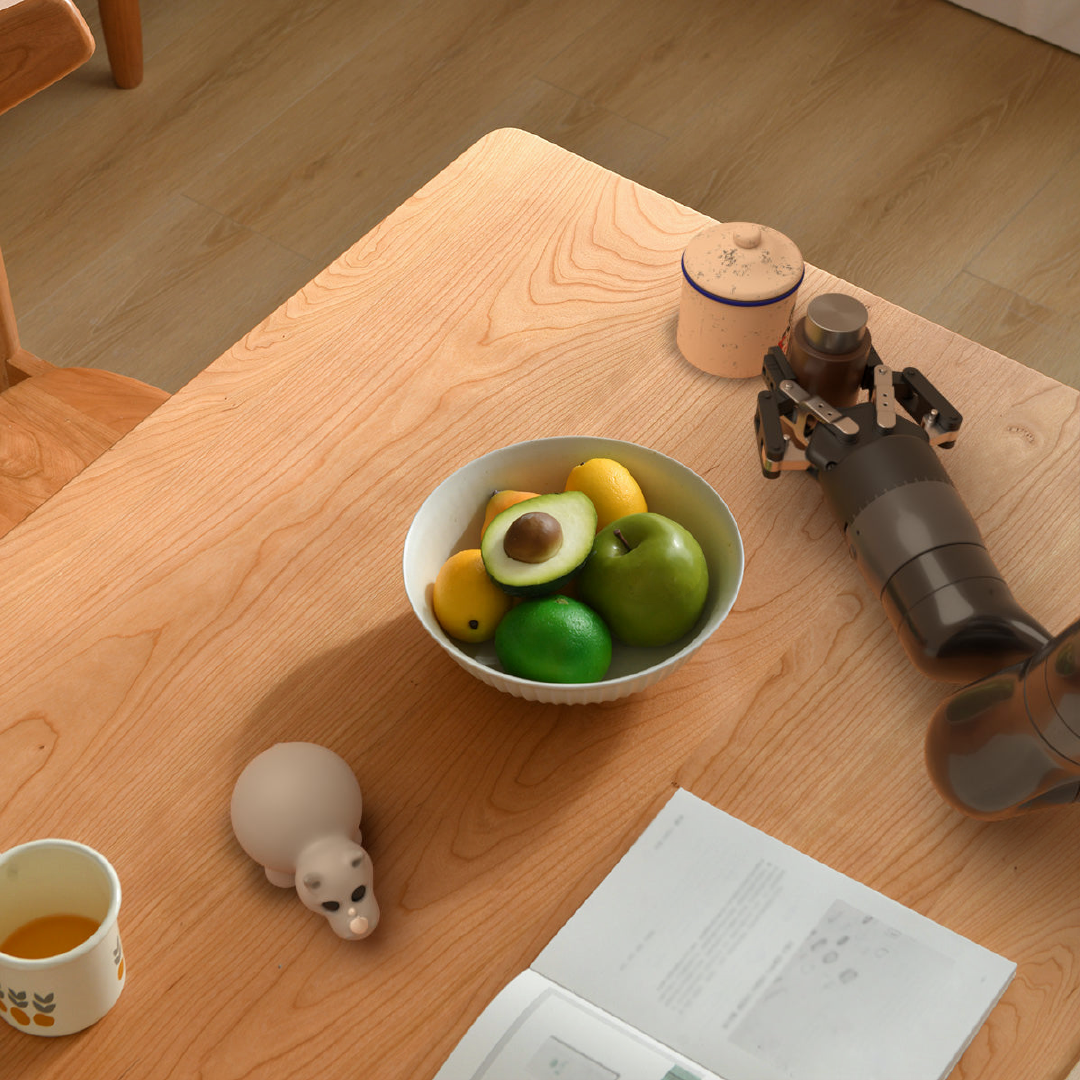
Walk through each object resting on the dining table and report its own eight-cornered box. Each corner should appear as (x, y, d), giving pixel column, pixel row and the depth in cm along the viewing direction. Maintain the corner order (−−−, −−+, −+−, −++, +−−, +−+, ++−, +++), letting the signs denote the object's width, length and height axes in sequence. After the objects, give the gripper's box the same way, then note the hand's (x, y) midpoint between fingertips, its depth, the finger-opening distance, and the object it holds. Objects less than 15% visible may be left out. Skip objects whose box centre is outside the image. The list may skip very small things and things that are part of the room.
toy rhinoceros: (306, 1000, 73) (283, 935, 67) (227, 825, 80) (200, 750, 73) (426, 939, 76) (415, 869, 69) (339, 773, 82) (322, 696, 76)
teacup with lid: (800, 386, 104) (825, 264, 95) (684, 395, 103) (698, 274, 94) (766, 285, 112) (785, 165, 103) (657, 294, 111) (667, 173, 102)
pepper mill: (828, 419, 101) (859, 282, 92) (854, 469, 98) (889, 331, 88) (762, 430, 101) (787, 293, 91) (786, 480, 97) (814, 343, 87)
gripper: (1028, 465, 83) (916, 292, 94) (806, 505, 81) (718, 322, 91) (996, 544, 89) (895, 372, 99) (789, 583, 86) (708, 403, 97)
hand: (810, 349), depth 95 cm, fingers closed on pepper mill, 5 cm apart
